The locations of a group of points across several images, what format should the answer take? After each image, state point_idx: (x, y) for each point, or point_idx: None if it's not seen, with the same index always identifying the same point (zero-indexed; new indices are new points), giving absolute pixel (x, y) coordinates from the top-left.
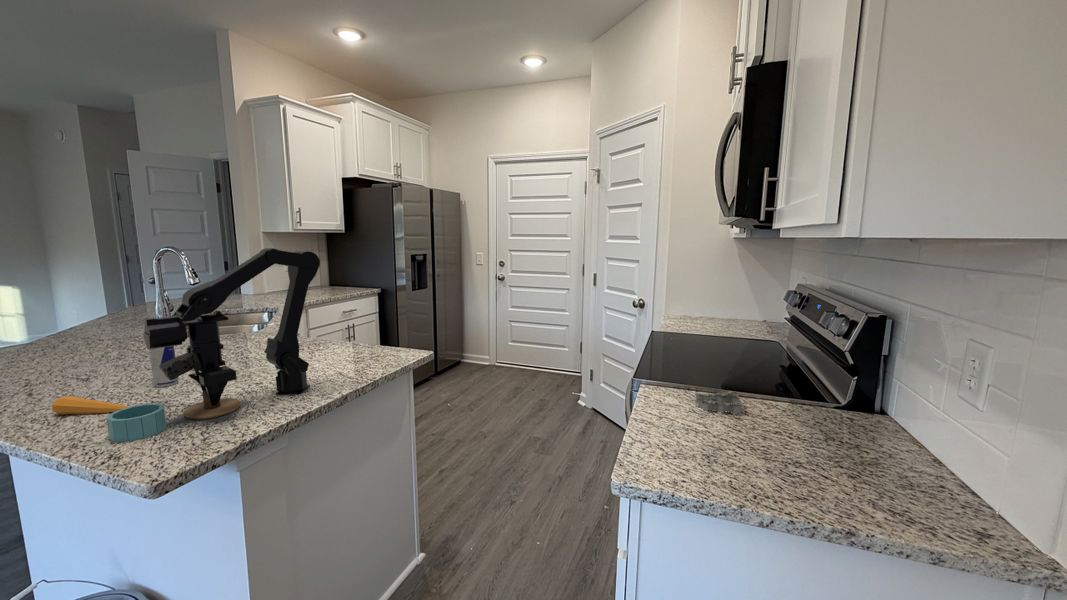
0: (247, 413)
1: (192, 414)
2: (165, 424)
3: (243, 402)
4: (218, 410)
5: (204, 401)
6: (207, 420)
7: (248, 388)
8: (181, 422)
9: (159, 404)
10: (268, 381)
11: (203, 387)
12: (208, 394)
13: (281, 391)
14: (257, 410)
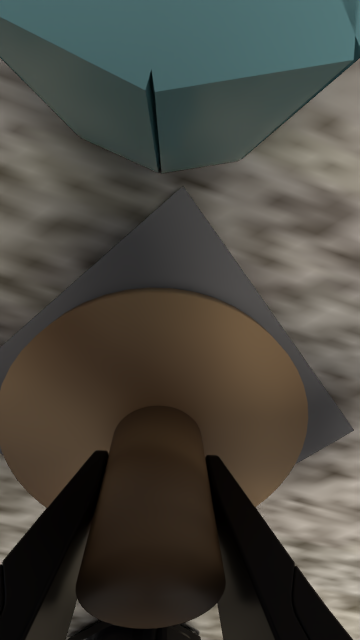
0: (3, 491)
1: (109, 327)
2: (67, 121)
3: None
4: (50, 440)
5: (143, 455)
6: (15, 355)
7: (344, 573)
8: (113, 249)
9: (273, 42)
10: (344, 622)
11: (256, 614)
12: (9, 565)
13: (142, 630)
14: (11, 523)
